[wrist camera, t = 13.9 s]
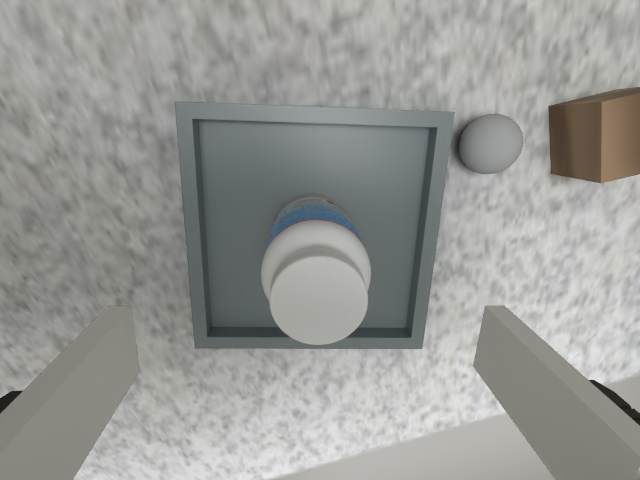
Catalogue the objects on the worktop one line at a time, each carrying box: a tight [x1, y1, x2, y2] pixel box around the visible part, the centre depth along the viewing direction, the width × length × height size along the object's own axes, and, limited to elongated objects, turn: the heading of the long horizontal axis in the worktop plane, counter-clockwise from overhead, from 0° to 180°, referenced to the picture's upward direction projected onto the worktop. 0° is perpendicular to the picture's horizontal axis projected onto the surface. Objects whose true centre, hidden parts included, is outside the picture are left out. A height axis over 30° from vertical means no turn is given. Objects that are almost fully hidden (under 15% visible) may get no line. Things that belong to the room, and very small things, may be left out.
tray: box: [175, 101, 455, 349], centre depth 27 cm, size 18×18×2 cm
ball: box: [459, 114, 523, 174], centre depth 25 cm, size 4×4×4 cm
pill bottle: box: [261, 195, 371, 345], centre depth 22 cm, size 6×6×11 cm
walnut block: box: [549, 87, 640, 183], centre depth 25 cm, size 5×5×5 cm
